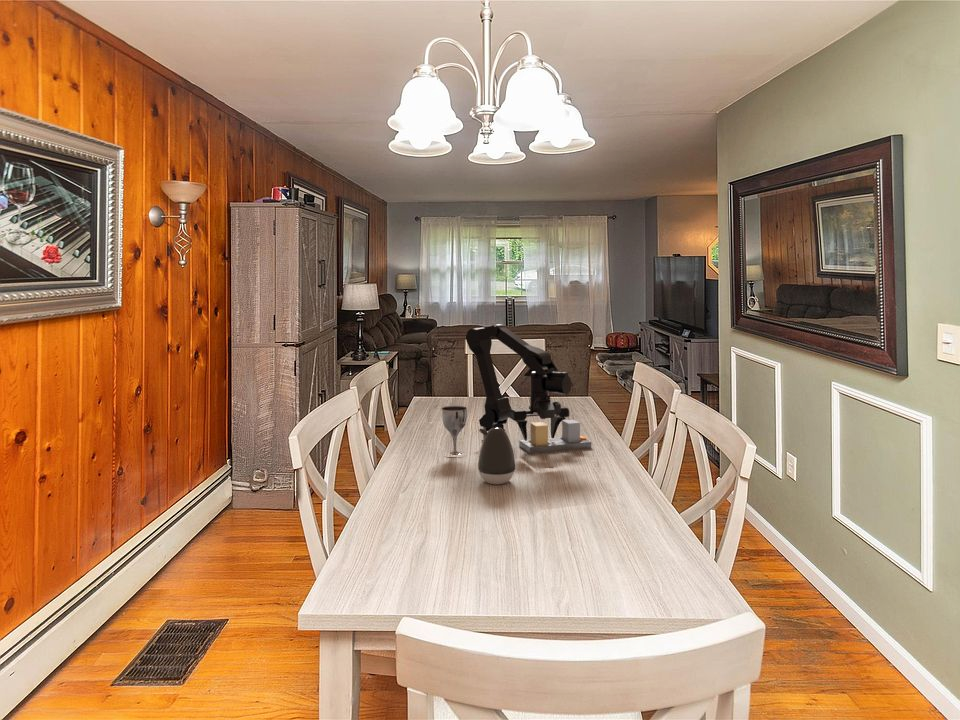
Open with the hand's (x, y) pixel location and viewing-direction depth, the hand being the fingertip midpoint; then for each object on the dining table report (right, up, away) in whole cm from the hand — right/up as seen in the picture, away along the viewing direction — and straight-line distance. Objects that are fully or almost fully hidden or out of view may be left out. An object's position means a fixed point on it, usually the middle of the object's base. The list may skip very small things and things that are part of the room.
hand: (539, 439), depth 212 cm
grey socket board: (+5, -4, +2) cm, 7 cm away
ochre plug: (0, -3, 0) cm, 3 cm away
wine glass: (-27, -5, -2) cm, 27 cm away
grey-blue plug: (+11, -3, +3) cm, 11 cm away
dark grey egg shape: (-14, -8, -30) cm, 34 cm away
